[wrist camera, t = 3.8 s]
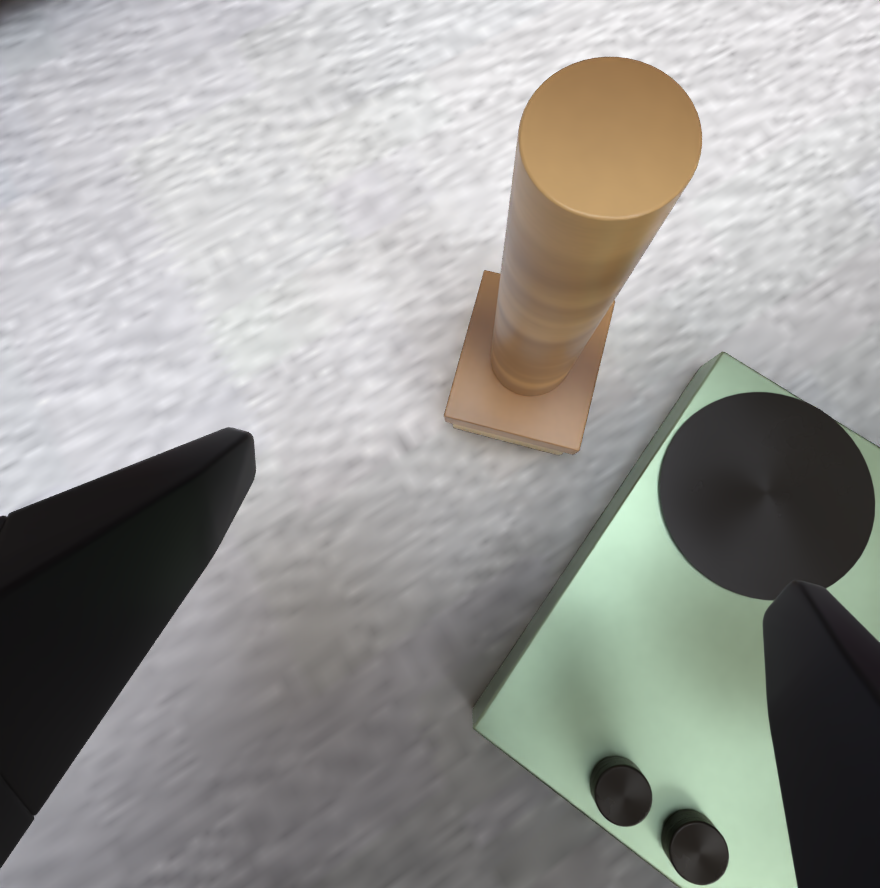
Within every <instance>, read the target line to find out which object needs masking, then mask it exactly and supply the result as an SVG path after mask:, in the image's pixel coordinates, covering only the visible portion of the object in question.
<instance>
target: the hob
mask: <svg viewBox="0 0 880 888" xmlns="http://www.w3.org/2000/svg"><path fill="white" fill-rule="evenodd" d="M794 580H802V581H805V582H809V583H813V584H816V585H820V586H822V587H824V588H826V589H827V590H828V591H829V592H830V593H831V594H832V595H833V596H834V597H835V598H836V599H837V600H838V601H839V602H840V603H841V604H842V605H843V606H844V607H845V608H846V609H847V610H848V611H849V612H850V613H851V614H852V615H853V616H854V617H855V618H856V619H857V620H858V621H859V622H860V623H861V624H862V625H863V626H864V627H865V628H866V629H867V630H868V631H869V632H870V633H871V634H872V635H873V636H874V637H875V638H876V639H877V640H878V641H879V642H880V447H878V446H876V445H875V444H873V443H872V442H870V441H868V440H867V439H865V438H863V437H862V436H860V435H859V434H857V433H855V432H854V431H852V430H850V429H849V428H847V427H846V426H844V425H842V424H841V423H839V422H837V421H836V420H834V419H833V418H831V417H830V416H828V415H827V414H826V413H824V412H823V411H821V410H820V409H818V408H816V407H814V406H812V405H811V404H809V403H807V402H805V401H803V400H802V399H800V398H798V397H797V396H795V395H794V394H792V393H790V392H789V391H787V390H785V389H784V388H782V387H781V386H779V385H777V384H776V383H774V382H772V381H771V380H769V379H768V378H766V377H764V376H763V375H761V374H759V373H758V372H756V371H755V370H753V369H751V368H750V367H748V366H746V365H745V364H743V363H742V362H740V361H738V360H737V359H735V358H733V357H732V356H730V355H729V354H727V353H725V352H721V353H720V354H718V355H717V356H715V357H714V358H713V359H711V360H710V361H708V362H707V363H706V364H704V365H703V366H701V367H700V368H699V370H698V371H697V373H696V374H695V376H694V377H693V379H692V380H691V382H690V383H689V385H688V386H687V388H686V389H685V391H684V392H683V394H682V395H681V397H680V398H679V400H678V401H677V403H676V404H675V406H674V407H673V409H672V410H671V412H670V413H669V415H668V416H667V418H666V419H665V421H664V422H663V424H662V425H661V427H660V428H659V430H658V431H657V433H656V434H655V436H654V437H653V439H652V440H651V442H650V443H649V445H648V446H647V448H646V449H645V451H644V452H643V454H642V455H641V457H640V458H639V460H638V461H637V463H636V464H635V466H634V467H633V469H632V470H631V472H630V473H629V475H628V476H627V478H626V479H625V481H624V482H623V484H622V485H621V487H620V488H619V490H618V491H617V493H616V494H615V496H614V497H613V499H612V500H611V502H610V503H609V505H608V506H607V508H606V509H605V511H604V512H603V514H602V515H601V517H600V518H599V520H598V521H597V523H596V524H595V526H594V527H593V529H592V530H591V532H590V533H589V535H588V536H587V538H586V539H585V541H584V542H583V544H582V545H581V547H580V548H579V550H578V551H577V553H576V554H575V556H574V557H573V559H572V560H571V562H570V563H569V565H568V566H567V568H566V569H565V571H564V572H563V574H562V575H561V577H560V578H559V580H558V581H557V583H556V584H555V586H554V587H553V589H552V590H551V592H550V593H549V595H548V596H547V598H546V599H545V601H544V602H543V604H542V605H541V607H540V608H539V610H538V611H537V613H536V614H535V616H534V617H533V619H532V620H531V622H530V623H529V625H528V626H527V628H526V629H525V631H524V632H523V634H522V635H521V637H520V638H519V640H518V641H517V643H516V644H515V646H514V647H513V649H512V650H511V652H510V653H509V655H508V656H507V658H506V659H505V661H504V662H503V664H502V665H501V667H500V668H499V670H498V671H497V673H496V674H495V676H494V677H493V679H492V680H491V682H490V683H489V685H488V686H487V688H486V689H485V691H484V692H483V694H482V695H481V697H480V698H479V700H478V701H477V703H476V704H475V706H474V707H473V709H472V718H473V729H474V730H475V731H477V732H478V733H479V734H480V735H482V736H483V737H484V738H486V739H487V740H488V741H490V742H491V743H492V744H493V745H495V746H496V747H497V748H499V749H500V750H501V751H503V752H504V753H505V754H506V755H508V756H509V757H510V758H512V759H513V760H514V761H516V762H517V763H518V764H519V765H521V766H522V767H523V768H525V769H526V770H527V771H529V772H530V773H531V774H532V775H534V776H535V777H536V778H538V779H539V780H540V781H542V782H543V783H544V784H545V785H547V786H548V787H549V788H551V789H552V790H553V791H555V792H556V793H557V794H558V795H560V796H561V797H562V798H564V799H565V800H566V801H568V802H569V803H570V804H571V805H573V806H574V807H575V808H577V809H578V810H579V811H581V812H582V813H583V814H584V815H586V816H587V817H588V818H590V819H591V820H592V821H594V822H595V823H596V824H597V825H599V826H600V827H601V828H603V829H604V830H605V831H607V832H608V833H609V834H610V835H612V836H613V837H614V838H616V839H617V840H618V841H620V842H621V843H622V844H623V845H625V846H626V847H627V848H629V849H630V850H631V851H633V852H634V853H635V854H636V855H638V856H639V857H640V858H642V859H643V860H644V861H646V862H647V863H648V864H649V865H651V866H652V867H653V868H655V869H656V870H657V871H659V872H660V873H661V874H662V875H664V876H665V877H666V878H668V879H669V880H670V881H672V882H673V883H674V884H675V885H677V886H678V887H679V888H798V887H797V882H796V876H795V870H794V864H793V859H792V853H791V847H790V841H789V835H788V830H787V824H786V818H785V812H784V807H783V801H782V795H781V789H780V784H779V778H778V772H777V766H776V761H775V755H774V749H773V743H772V737H771V732H770V725H769V718H768V709H767V697H766V679H765V662H764V645H763V627H762V622H763V617H764V614H765V611H766V610H767V608H768V607H769V606H770V605H771V603H772V602H773V601H774V600H775V599H776V598H777V596H778V595H779V594H780V593H781V592H782V590H783V589H784V588H785V587H786V586H787V585H788V584H789V583H790V582H792V581H794Z"/></svg>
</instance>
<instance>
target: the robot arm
mask: <svg viewBox="0 0 880 888" xmlns="http://www.w3.org/2000/svg"><path fill="white" fill-rule="evenodd" d="M255 473H256V463H255V449H254V439H253V436H252V434H251V433H249V432H247V431H243V430H239V429H235V428H230V427H228V428H224V429H221V430H219V431H216V432H214V433H211V434H209V435H206V436H204V437H201V438H199V439H196V440H194V441H191V442H189V443H186V444H183V445H181V446H178V447H176V448H173V449H171V450H168V451H166V452H163V453H161V454H158V455H156V456H153V457H150V458H148V459H145V460H143V461H140V462H138V463H135V464H133V465H130V466H128V467H125V468H123V469H120V470H118V471H115V472H112V473H110V474H107V475H105V476H102V477H100V478H97V479H95V480H92V481H90V482H87V483H85V484H82V485H80V486H77V487H74V488H72V489H69V490H67V491H64V492H62V493H59V494H57V495H54V496H52V497H49V498H47V499H44V500H41V501H39V502H36V503H34V504H31V505H29V506H26V507H24V508H21V509H19V510H16V511H13V512H11V513H9V514H8V516H7V517H6V516H0V868H1V867H2V865H3V864H4V863H5V861H6V860H7V858H8V857H9V855H10V854H11V852H12V851H13V849H14V848H15V846H16V845H17V844H18V842H19V841H20V839H21V838H22V836H23V835H24V833H25V832H26V830H27V829H28V827H29V826H30V825H31V823H32V822H33V820H34V815H37V814H38V812H39V811H40V809H41V808H42V806H43V805H44V803H45V802H46V800H47V799H48V798H49V796H50V795H51V793H52V792H53V790H54V789H55V787H56V786H57V784H58V783H59V781H60V780H61V779H62V777H63V776H64V774H65V773H66V771H67V770H68V768H69V767H70V765H71V764H72V762H73V761H74V760H75V758H76V757H77V755H78V754H79V752H80V751H81V749H82V748H83V746H84V745H85V743H86V742H87V741H88V739H89V738H90V736H91V735H92V733H93V732H94V730H95V729H96V727H97V726H98V724H99V723H100V722H101V720H102V719H103V717H104V716H105V714H106V713H107V711H108V710H109V708H110V707H111V705H112V704H113V703H114V701H115V700H116V698H117V697H118V695H119V694H120V692H121V691H122V689H123V688H124V686H125V685H126V684H127V682H128V681H129V679H130V678H131V676H132V675H133V673H134V672H135V670H136V669H137V667H138V666H139V665H140V663H141V662H142V660H143V659H144V657H145V656H146V654H147V653H148V651H149V650H150V648H151V647H152V646H153V644H154V643H155V641H156V640H157V638H158V637H159V635H160V634H161V632H162V631H163V629H164V628H165V627H166V625H167V624H168V622H169V621H170V619H171V618H172V616H173V615H174V613H175V612H176V610H177V609H178V608H179V606H180V605H181V603H182V602H183V600H184V599H185V597H186V596H187V594H188V593H189V591H190V590H191V589H192V587H193V586H194V584H195V583H196V581H197V580H198V578H199V577H200V575H201V574H202V572H203V571H204V570H205V568H206V567H207V565H208V564H209V562H210V560H211V559H212V557H213V556H214V554H215V552H216V551H217V549H218V547H219V545H220V544H221V542H222V540H223V538H224V536H225V534H226V532H227V530H228V528H229V527H230V525H231V523H232V521H233V519H234V517H235V515H236V513H237V511H238V510H239V508H240V506H241V504H242V502H243V500H244V498H245V496H246V494H247V492H248V491H249V489H250V487H251V485H252V483H253V481H254V478H255ZM762 627H763V645H764V662H765V679H766V697H767V709H768V718H769V725H770V732H771V737H772V743H773V749H774V755H775V761H776V766H777V772H778V778H779V784H780V789H781V795H782V801H783V807H784V812H785V818H786V824H787V830H788V835H789V841H790V847H791V853H792V859H793V864H794V870H795V876H796V882H797V887H798V888H880V642H879V641H878V640H877V639H876V638H875V637H874V636H873V635H872V634H871V633H870V632H869V631H868V630H867V629H866V628H865V627H864V626H863V625H862V624H861V623H860V622H859V621H858V620H857V619H856V618H855V617H854V616H853V615H852V614H851V613H850V612H849V611H848V610H847V609H846V608H845V607H844V606H843V605H842V604H841V603H840V602H839V601H838V600H837V599H836V598H835V597H834V596H833V595H832V594H831V593H830V592H829V591H828V590H827V589H826V588H824V587H822V586H820V585H816V584H813V583H809V582H805V581H802V580H794V581H792V582H790V583H789V584H788V585H787V586H786V587H785V588H784V589H783V590H782V592H781V593H780V594H779V595H778V596H777V598H776V599H775V600H774V601H773V602H772V603H771V605H770V606H769V607H768V608H767V610H766V611H765V614H764V617H763V622H762Z"/></svg>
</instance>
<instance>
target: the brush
mask: <svg viewBox="0 0 880 888" xmlns="http://www.w3.org/2000/svg"><path fill="white" fill-rule="evenodd" d="M701 149H702V131H701V124H700V120H699V117H698V113H697V111H696V109H695V107H694V104H693V102H692V101H691V99H690V98H689V96H688V95H687V93H686V92H685V91H684V90H683V89H682V87H681V86H680V85H679V84H678V83H677V82H676V81H674V80H673V79H672V78H671V77H670V76H668V75H667V74H665V73H664V72H662V71H661V70H659V69H657V68H655V67H653V66H651V65H649V64H646V63H643V62H641V61H637V60H633V59H628V58H621V57H599V58H592V59H587V60H583V61H580V62H577V63H574V64H571V65H569V66H567V67H565V68H563V69H561V70H559V71H558V72H556V73H555V74H553V75H552V76H551V77H549V78H548V79H547V80H546V81H545V82H543V84H542V85H541V86H540V87H539V88H538V89H537V90H536V91H535V93H534V94H533V95H532V97H531V98H530V100H529V101H528V103H527V105H526V107H525V109H524V111H523V114H522V117H521V120H520V125H519V130H518V138H517V146H516V154H515V162H514V170H513V178H512V186H511V194H510V202H509V210H508V218H507V226H506V234H505V242H504V250H503V258H502V266H501V274H499V273H495V272H490V271H486V270H485V271H484V273H483V276H482V280H481V283H480V287H479V291H478V294H477V298H476V301H475V305H474V309H473V312H472V316H471V319H470V323H469V327H468V330H467V334H466V337H465V341H464V345H463V348H462V352H461V355H460V359H459V363H458V366H457V370H456V373H455V377H454V381H453V384H452V388H451V391H450V395H449V399H448V402H447V406H446V409H445V413H444V418H445V421H446V422H449V423H452V424H453V428H456V429H460V430H464V431H467V432H471V433H475V434H479V435H483V436H487V437H490V438H494V439H498V440H502V441H506V442H510V443H514V444H517V445H521V446H525V447H529V448H533V449H537V450H540V451H544V452H548V453H552V454H556V455H561V454H563V453H568V454H572V455H574V454H575V453H577V452H578V451H579V450H580V446H581V442H582V438H583V433H584V429H585V425H586V421H587V417H588V413H589V408H590V404H591V400H592V396H593V392H594V388H595V383H596V379H597V375H598V371H599V367H600V363H601V358H602V354H603V350H604V346H605V342H606V338H607V333H608V329H609V325H610V321H611V317H612V313H613V308H614V304H615V298H616V297H617V295H618V294H619V292H620V290H621V289H622V287H623V286H624V284H625V282H626V281H627V279H628V278H629V276H630V275H631V273H632V271H633V270H634V268H635V267H636V265H637V264H638V262H639V260H640V259H641V257H642V256H643V254H644V253H645V251H646V249H647V248H648V246H649V245H650V243H651V241H652V240H653V238H654V237H655V235H656V234H657V232H658V230H659V229H660V227H661V226H662V224H663V223H664V221H665V219H666V218H667V216H668V215H669V213H670V211H671V210H672V208H673V207H674V205H675V204H676V202H677V200H678V199H679V197H680V196H681V194H682V193H683V191H684V189H685V188H686V186H687V185H688V183H689V181H690V180H691V178H692V177H693V175H694V172H695V170H696V168H697V166H698V162H699V159H700V155H701Z"/></svg>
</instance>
